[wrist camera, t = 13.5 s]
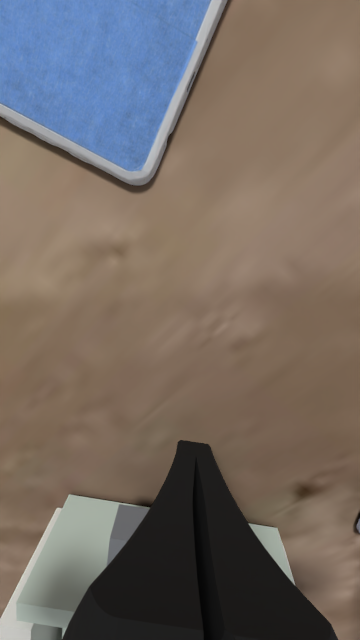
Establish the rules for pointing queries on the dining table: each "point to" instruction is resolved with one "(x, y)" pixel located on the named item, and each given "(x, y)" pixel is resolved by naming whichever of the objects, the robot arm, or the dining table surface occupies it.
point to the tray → (92, 556)
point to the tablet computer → (103, 75)
